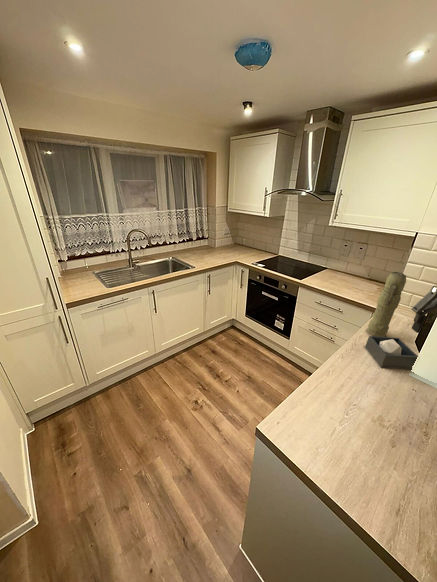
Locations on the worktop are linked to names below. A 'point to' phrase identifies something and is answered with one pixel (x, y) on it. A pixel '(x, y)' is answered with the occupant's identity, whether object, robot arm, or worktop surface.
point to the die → (390, 347)
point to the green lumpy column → (387, 304)
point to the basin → (388, 360)
